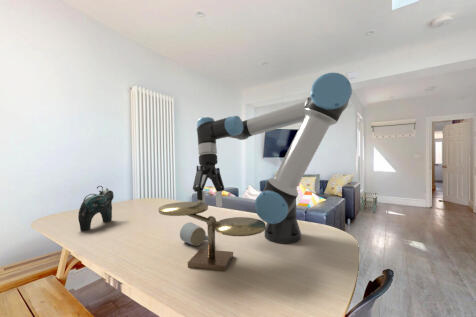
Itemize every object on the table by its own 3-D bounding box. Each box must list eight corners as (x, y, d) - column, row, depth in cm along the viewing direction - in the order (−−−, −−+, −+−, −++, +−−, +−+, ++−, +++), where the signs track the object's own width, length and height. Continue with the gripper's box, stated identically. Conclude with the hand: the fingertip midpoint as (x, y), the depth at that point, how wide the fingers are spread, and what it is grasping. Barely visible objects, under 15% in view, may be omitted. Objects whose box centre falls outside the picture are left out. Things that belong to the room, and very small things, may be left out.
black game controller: (106, 219, 122) (106, 183, 122) (117, 219, 121) (116, 183, 121) (75, 231, 103) (75, 188, 103) (88, 231, 102) (87, 189, 102)
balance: (268, 255, 75) (267, 204, 75) (262, 281, 59) (262, 216, 59) (174, 247, 83) (174, 201, 83) (148, 268, 67) (147, 211, 67)
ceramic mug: (191, 249, 81) (191, 228, 81) (179, 243, 86) (179, 224, 86) (213, 241, 89) (213, 222, 89) (200, 236, 94) (200, 219, 94)
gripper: (215, 160, 102) (218, 206, 98) (181, 151, 80) (183, 211, 76) (229, 157, 99) (233, 205, 95) (198, 148, 77) (201, 209, 73)
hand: (211, 208), depth 86 cm, fingers open, 12 cm apart
